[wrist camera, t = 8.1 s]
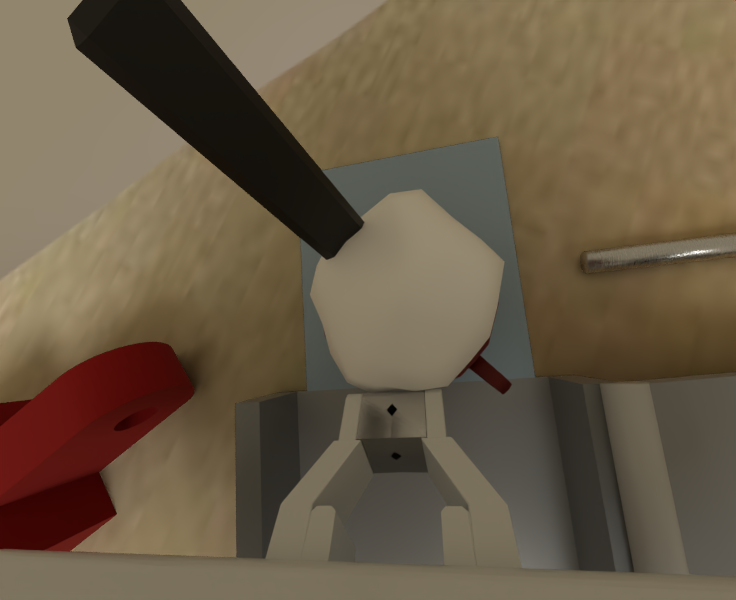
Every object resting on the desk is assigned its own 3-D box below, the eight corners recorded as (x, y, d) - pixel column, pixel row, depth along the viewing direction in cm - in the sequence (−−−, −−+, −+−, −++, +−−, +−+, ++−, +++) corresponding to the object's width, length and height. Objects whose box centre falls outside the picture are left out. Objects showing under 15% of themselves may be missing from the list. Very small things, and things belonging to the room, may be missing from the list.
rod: (841, 223, 13) (870, 213, 12) (849, 245, 13) (879, 238, 12) (578, 255, 14) (587, 248, 14) (582, 275, 14) (591, 270, 13)
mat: (497, 138, 16) (498, 136, 16) (534, 377, 14) (535, 377, 14) (298, 176, 18) (297, 175, 18) (308, 390, 16) (307, 391, 16)
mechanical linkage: (11, 598, 18) (-147, 687, 13) (-29, 476, 20) (-181, 517, 15) (237, 420, 17) (155, 447, 12) (173, 308, 19) (79, 293, 14)
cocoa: (520, 370, 14) (949, 457, 3) (387, 431, 15) (244, 729, 3) (420, 187, 16) (407, -235, 5) (305, 246, 17) (30, 4, 5)
